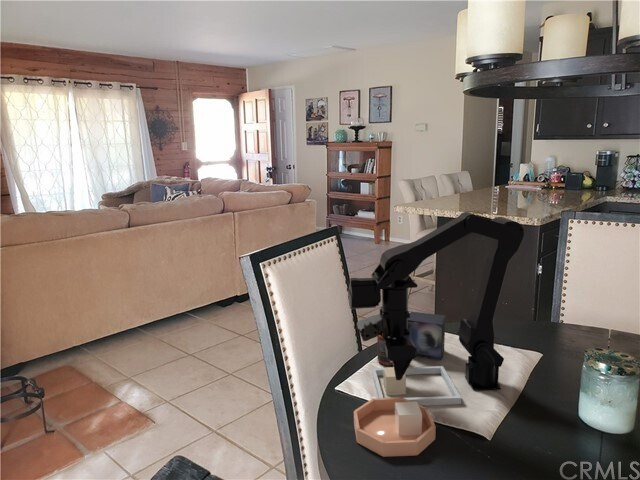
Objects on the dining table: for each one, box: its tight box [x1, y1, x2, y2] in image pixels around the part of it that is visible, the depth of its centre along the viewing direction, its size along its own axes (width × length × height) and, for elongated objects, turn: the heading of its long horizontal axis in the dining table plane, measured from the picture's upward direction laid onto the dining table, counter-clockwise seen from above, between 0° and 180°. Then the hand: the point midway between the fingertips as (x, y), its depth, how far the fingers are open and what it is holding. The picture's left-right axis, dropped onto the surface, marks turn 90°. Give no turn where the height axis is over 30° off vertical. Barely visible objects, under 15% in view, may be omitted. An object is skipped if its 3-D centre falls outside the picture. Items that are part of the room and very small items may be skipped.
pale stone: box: [395, 402, 422, 436], centre depth 94 cm, size 4×4×4 cm
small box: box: [404, 310, 446, 361], centre depth 127 cm, size 11×6×10 cm, turn 68°
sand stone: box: [382, 366, 407, 396], centre depth 110 cm, size 4×4×4 cm
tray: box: [371, 365, 462, 406], centre depth 110 cm, size 18×15×2 cm
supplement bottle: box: [376, 335, 393, 366], centre depth 123 cm, size 6×6×11 cm
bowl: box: [353, 397, 437, 458], centre depth 94 cm, size 15×15×3 cm
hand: (394, 369), depth 109 cm, fingers open, 9 cm apart
